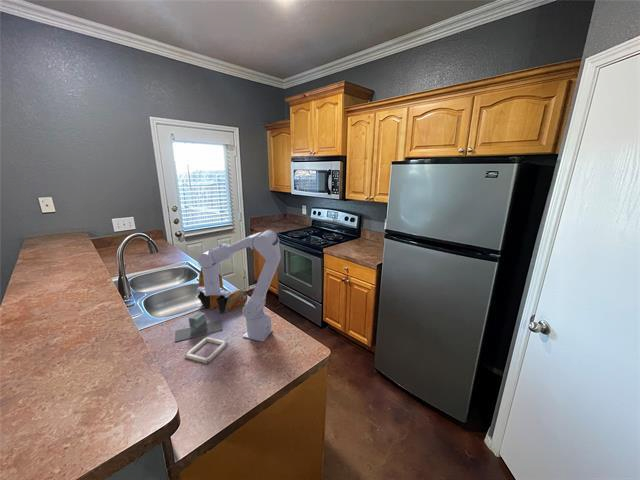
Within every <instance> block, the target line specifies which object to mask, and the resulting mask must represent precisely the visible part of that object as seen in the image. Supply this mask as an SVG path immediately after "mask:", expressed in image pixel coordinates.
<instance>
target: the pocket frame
mask: <svg viewBox="0 0 640 480" xmlns="http://www.w3.org/2000/svg"><path fill="white" fill-rule="evenodd" d="M207 342H209V343H212V344H217V345H219V346H218V347H217V348H216V349H215V350H214V351H212V352H211V354H210V355H209V356H207V357H204V356H199V355H197V354H194V353H196V351H198V350H199V348H201V347H202V346H203V345H204V344H206V343H207ZM227 346H228V341H226V340H223V339H222V340H221V339H218V338H215V337H210V336H205V337H204V338H203V339H202V340H200V341H199V342H198V343H196V345H194V346H193V347H192V348H191V349H190V350H188V351H187V352H186V353H184V358H186V359H188V360H190V359H191V360H193V361H197V362H199V363H200V362H201V363H204V364H208V363H210V362H211V361H212V360H213V359H214V358H215V357H216V356H217V355H218V354H220V352H221V351H222V350H224V349H225V347H227Z"/></svg>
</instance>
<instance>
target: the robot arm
mask: <svg viewBox="0 0 640 480" xmlns="http://www.w3.org/2000/svg"><path fill="white" fill-rule="evenodd" d="M247 248H250V249H251V250H254V249H255V251H257V253H258V254H260V256H262V257H263V258H264V260H265V262H264V265H263V266H262V268H261V269H262V270H261V272H260V274H259V277H258V279H257V282H256V284H255V286H254V289H253V292H252V294H251V296H250V298H248V300H247V302H246V303H245V305H243V306H242V310H241V311H242V315H243V317H245V322H246V332H245V333H244V334H243V335H242V337H243V338H247V339H251V340H254V341H260V342H264V341H265V340H266V339H267V338H268V337H269V335H270V334H271V333H272V332H273V328H272V318H271V317H270V315H267V314H265V310H264V307H265V305H266V304H267V303H266V298H267V292H268V290H269V288H270V285H271V283H272V280H273V279H274V276H275V273H276V271H277V269H278V266H279V264H280V261H281V258H282V256H281V254H282V253H281V249H280V238H279V236H278V235H277V233H276V232H275V231H274V230H271V229H267V230H264V231H259V232H256V233H253V234H250V235H248V236H247V237H244V238H243V239H240V240H238V241H236V242H233V243H232V244H229V243H223V242H222V243H220V244H218V246H216V247H211V248H209V249H208V250H207V251H205V252H203V253H201V254H200V255H199V256H198V257H197V262H198V265H199V266H200V268H201V267H202V271H203V279H204V286H205V287H199V286H198V287H197V288H196V292H197V295H196V296H197V298H198V300H199V301H200V303H201V302H202V303H203V304H202V303H201V304H202V305H204V306H203V308H204V309H205V311H208V310H210V309H209V308H210V295H218V296H220V297H219V298H217V299H216V300H217V302H218V304H219V308H220V311H219V312H220V314H224V313H223V312H224V311H225V308H226V303H227V300H228V298H229V296H230V294H229V293H230V291H228V290H225V289H224V288H223V289H222V288H220V282H219V274H220V273H219V267H218V266H219V263H220V262H223V261H225V260H228V259H230V258H232V257H233V255H234V253H235V252H239V251H241V250H244V249H247Z"/></svg>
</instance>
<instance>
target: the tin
mask: <svg viewBox="0 0 640 480" xmlns="http://www.w3.org/2000/svg"><path fill="white" fill-rule="evenodd" d="M229 294H230V296H229V298H228V300H227V303H226V308H225V311H224V312H223V313H222V314H227V313H230V312H233V311H234V310H237V309H239V308H243V307H244V306H245V305H246V304H247V303H248V294H247V292H245V291H244V290H241V289H237V290H233V291H231V292H229ZM216 308H217V310H218V311H219V312H220V308H219V304H218V302H217V306H216Z"/></svg>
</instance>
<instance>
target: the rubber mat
mask: <svg viewBox="0 0 640 480" xmlns="http://www.w3.org/2000/svg"><path fill="white" fill-rule="evenodd" d="M221 331H224V329H223V325H222V320H221V319H219V320H215V321H211V322H207V328H206V329H205V330H204V331H202V332H201V333H200V334H199V335H198V334H194V333H191V331H190V326H189V327H185V328H181V329H178V330H175V333H174V343H178V342H182V341H186V340H191V339H194V338H198V337H202V336H206V335H210V334H213V333H217V332H221Z"/></svg>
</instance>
